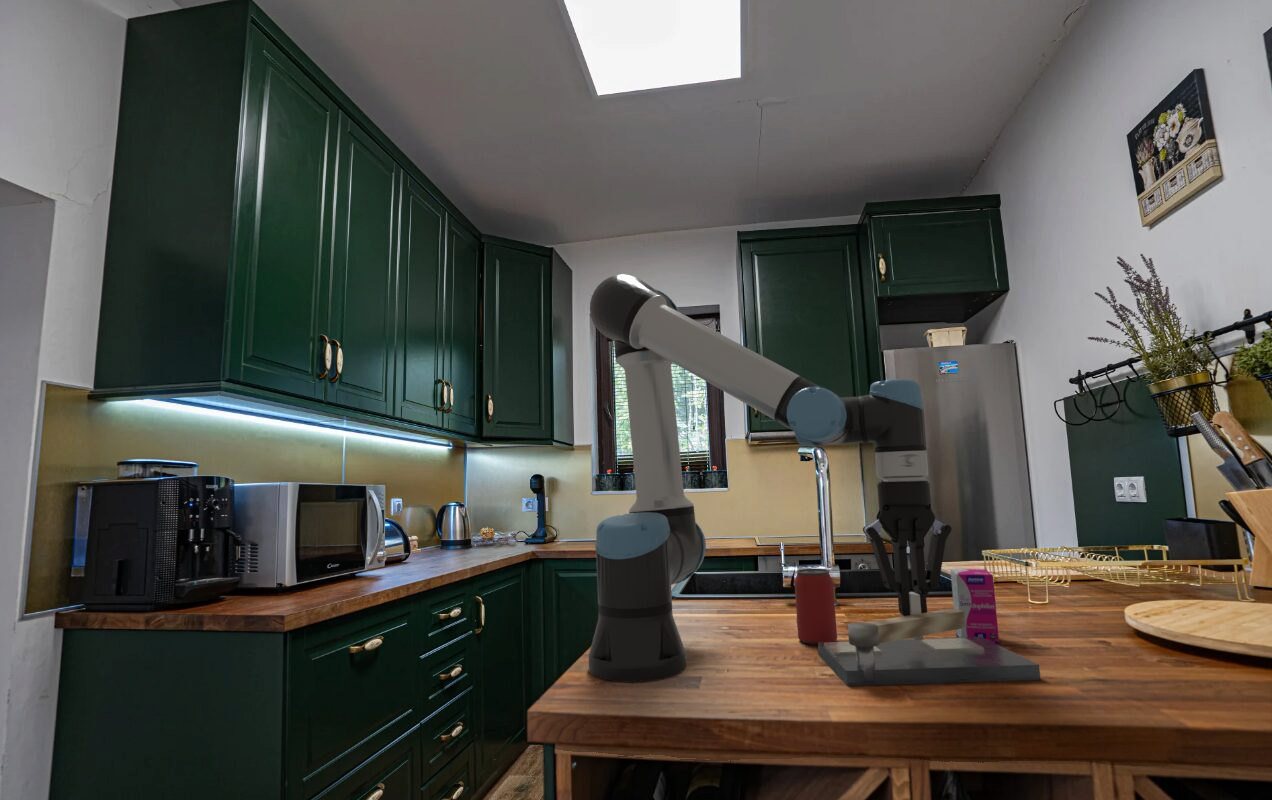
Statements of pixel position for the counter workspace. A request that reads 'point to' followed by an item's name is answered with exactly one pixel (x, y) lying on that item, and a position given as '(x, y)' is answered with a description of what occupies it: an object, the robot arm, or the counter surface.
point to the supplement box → (975, 603)
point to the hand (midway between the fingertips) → (915, 637)
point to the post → (866, 663)
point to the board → (931, 662)
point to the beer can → (815, 606)
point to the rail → (904, 627)
